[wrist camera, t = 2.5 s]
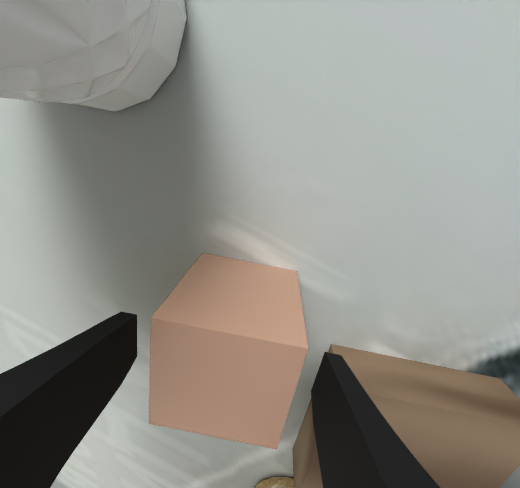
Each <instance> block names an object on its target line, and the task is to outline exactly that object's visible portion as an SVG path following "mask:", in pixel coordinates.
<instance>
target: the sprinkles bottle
mask: <svg viewBox="0 0 520 488" xmlns="http://www.w3.org/2000/svg"><path fill="white" fill-rule="evenodd" d="M255 488H294V478H288V477H272V478H269V479H266V480H262V482H260V483H258V484H257V485H256V487H255Z"/></svg>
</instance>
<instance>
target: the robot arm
mask: <svg viewBox="0 0 520 488" xmlns="http://www.w3.org/2000/svg"><path fill="white" fill-rule="evenodd" d="M136 357H137V315H136V314H131V313H125V312H120V313H118V314H116V315H114V316H112V317H110V318H108V319H106V320H104V321H103V322H101V323H99V324H97V325H95V326H93V327H92V328H90V329H88V330H86V331H84V332H82V333H81V334H79V335H77V336H75V337H73V338H71V339H69V340H67V341H66V342H64V343H62V344H60V345H58V346H56V347H54V348H52V349H50V350H48V351H46V352H44V353H42V354H40V355H38V356H36V357H34V358H32V359H30V360H28V361H26V362H24V363H22V364H20V365H18V366H16V367H14V368H12V369H10V370H8V371H6V372H3V373H1V374H0V488H50V487H51V485H52V483H53V482H54V480H55V479H56V477H57V475H58V474H59V472H60V471H61V469H62V468H63V466H64V465H65V463H66V462H67V460H68V459H69V457H70V456H71V454H72V453H73V451H74V450H75V448H76V447H77V446H78V444H79V443H80V441H81V440H82V439H83V437H84V436H85V435H86V433H87V432H88V430H89V429H90V428H91V426H92V425H93V423H94V422H95V421H96V419H97V418H98V416H99V415H100V414H101V412H102V411H103V409H104V408H105V407H106V405H107V404H108V402H109V401H110V399H111V398H112V397H113V395H114V394H115V392H116V391H117V390H118V388H119V387H120V385H121V384H122V382H123V380H124V379H125V377H126V375H127V373H128V372H129V370H130V368H131V366H132V364H133V363H134V361H135V359H136ZM311 396H312V416H313V426H314V433H315V439H316V446H317V452H318V459H319V465H320V471H321V478H322V484H323V488H440V487H439V485H438V484H437V483H436V482H435V481H434V480H433V478H432V477H431V476H430V475H429V474H428V473H427V471H426V470H425V469H424V468H423V467H422V465H421V464H420V463H419V462H418V461H417V459H416V458H415V457H414V456H413V454H412V453H411V452H410V451H409V449H408V448H407V447H406V445H405V444H404V443H403V442H402V440H401V439H400V438H399V436H398V435H397V434H396V433H395V431H394V430H393V429H392V427H391V426H390V425H389V423H388V422H387V421H386V419H385V418H384V417H383V415H382V414H381V412H380V411H379V410H378V408H377V407H376V405H375V404H374V403H373V401H372V400H371V398H370V397H369V395H368V394H367V393H366V391H365V390H364V388H363V387H362V385H361V384H360V382H359V381H358V379H357V378H356V376H355V375H354V373H353V372H352V370H351V369H350V367H349V366H348V364H347V363H346V361H345V360H344V359H343V357H342V356H341V355H338V354H333V353H328V352H325V353H324V356H323V359H322V362H321V365H320V367H319V370H318V373H317V376H316V379H315V382H314V384H313V387H312V390H311Z"/></svg>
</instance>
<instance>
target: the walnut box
mask: <svg viewBox="0 0 520 488" xmlns="http://www.w3.org/2000/svg"><path fill="white" fill-rule="evenodd" d="M328 353H333V354H338V355H341V356H342V357H343V359H344V360H345V361H346V363H347V364H348V366H349V367H350V369H351V370H352V372H353V373H354V375H355V376H356V378H357V379H358V381H359V382H360V384H361V385H362V387H363V388H364V390H365V391H366V393H367V394H368V395H369V397H370V398H371V400H372V401H373V403H374V404H375V405H376V407H377V408H378V410H379V411H380V412H381V414H382V415H383V417H384V418H385V419H386V421H387V422H388V423H389V425H390V426H391V427H392V429H393V430H394V431H395V433H396V434H397V435H398V436H399V438H400V439H401V440H402V442H403V443H404V444H405V445H406V447H407V448H408V449H409V451H410V452H411V453H412V454H413V456H414V457H415V458H416V459H417V461H418V462H419V463H420V464H421V465H422V467H423V468H424V469H425V470H426V471H427V473H428V474H429V475H430V476H431V477H432V478H433V480H434V481H435V482H436V483H437V484H438V485H439V487H440V488H499V487H500V486H501V485H502V484H503V483H504V482H505V480H506V479H507V478H508V477H509V476H510V475H511V474H512V473H513V472H514V471H515V470H516V469H517V468H518V467H519V466H520V399H519V398H518V397H517V396H516V395H515V394H514V393H513V392H512V391H511V390H510V389H509V388H508V387H507V386H506V384H505V383H504V382H503V381H502V380H501V379H500V378H495V377H490V376H485V375H480V374H475V373H470V372H465V371H460V370H455V369H450V368H446V367H441V366H436V365H431V364H426V363H421V362H416V361H411V360H406V359H401V358H396V357H391V356H386V355H382V354H377V353H372V352H367V351H362V350H357V349H352V348H347V347H342V346H337V345H332V344H331V346H330V348H329V351H328ZM293 470H294V488H323V484H322V478H321V471H320V465H319V459H318V452H317V446H316V439H315V433H314V426H313V416H312V398H311V401H310V403H309V406H308V409H307V411H306V414H305V417H304V420H303V422H302V425H301V428H300V431H299V433H298V436H297V439H296V442H295V444H294V447H293Z"/></svg>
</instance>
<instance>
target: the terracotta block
mask: <svg viewBox="0 0 520 488" xmlns="http://www.w3.org/2000/svg"><path fill="white" fill-rule="evenodd" d="M307 352H308V342H307V336H306V329H305V322H304V315H303V309H302V302H301V295H300V288H299V282H298V275H297V271H293V270H287V269H282V268H277V267H272V266H267V265H262V264H256V263H251V262H246V261H241V260H236V259H231V258H226V257H220V256H215V255H210V254H205V253H202V254H201V256H200V257H199V258H198V259H197V261H196V262H195V263H194V264H193V266H192V267H191V268H190V269H189V271H188V272H187V273H186V274H185V276H184V277H183V278H182V279H181V281H180V282H179V283H178V284H177V286H176V287H175V288H174V289H173V291H172V292H171V293H170V294H169V296H168V297H167V298H166V299H165V301H164V302H163V303H162V304H161V306H160V307H159V308H158V309H157V311H156V312H155V313H154V314H153V316H152V317H151V339H150V398H149V424H154V425H159V426H164V427H169V428H174V429H179V430H184V431H189V432H194V433H198V434H203V435H208V436H213V437H218V438H223V439H228V440H233V441H238V442H243V443H248V444H253V445H258V446H263V447H268V448H273V449H277V447H278V444H279V441H280V437H281V434H282V431H283V428H284V425H285V422H286V418H287V415H288V412H289V409H290V406H291V403H292V399H293V396H294V393H295V390H296V387H297V384H298V380H299V377H300V374H301V371H302V368H303V365H304V361H305V358H306V355H307Z"/></svg>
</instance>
